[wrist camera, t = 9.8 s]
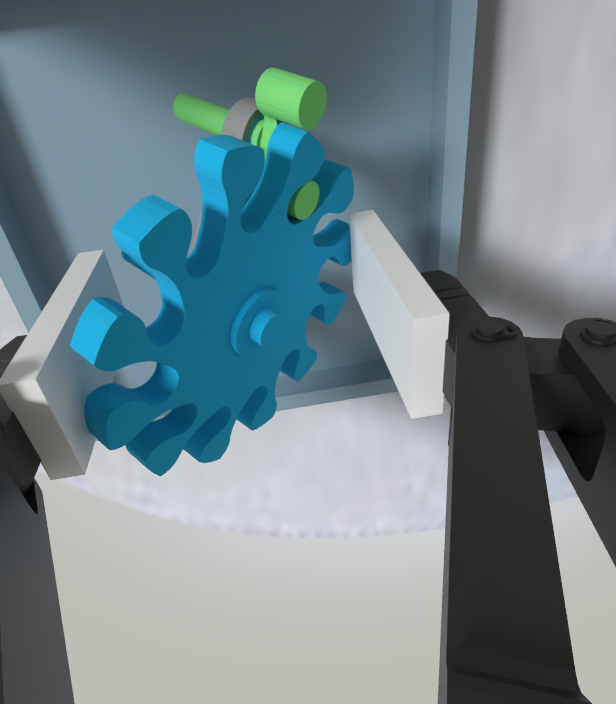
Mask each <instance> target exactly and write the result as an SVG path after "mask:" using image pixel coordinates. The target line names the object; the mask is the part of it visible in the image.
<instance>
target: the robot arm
mask: <svg viewBox="0 0 616 704" xmlns="http://www.w3.org/2000/svg"><path fill="white" fill-rule="evenodd" d="M349 222H350V239H351V257H352V274H353V291H354V294H355V296H356V298H357V300H358V302H359V305H360V307H361V309H362V311H363V313H364V316H365V318H366V320H367V322H368V325H369V327H370V329H371V331H372V333H373V336H374V338H375V340H376V342H377V344H378V347H379V349H380V351H381V353H382V356H383V358H384V360H385V362H386V364H387V367H388V369H389V371H390V373H391V375H392V378H393V380H394V382H395V384H396V386H397V389H398V391H399V393H400V395H401V398H402V400H403V402H404V404H405V406H406V409H407V411H408V413H409V415H410V417H411V419H414V418H420V417H426V416H432V415H438V414H443V402H444V395H445V397H446V399H447V401H448V402H449V404H450V406H451V415H450V427H449V440H448V446H449V455H448V479H447V502H446V526H445V549H444V550H445V551H444V572H443V573H444V574H443V596H442V598H443V599H442V620H441V643H440V667H439V691H438V704H592V703H591V702H590V701H589V700H588V699H587V698H586V697H585V696H584V695H583V694H582V693H581V691H580V688H579V685H578V683H577V677H576V672H575V666H574V659H573V653H572V646H571V640H570V634H569V627H568V621H567V614H566V608H565V601H564V596H563V589H562V582H561V576H560V569H559V563H558V556H557V550H556V544H555V537H554V531H553V524H552V518H551V511H550V505H549V498H548V492H547V486H546V479H545V473H544V466H543V460H542V453H541V447H540V440H539V434H538V430H544V433H545V434H546V436H547V438H548V440H549V442H550V444H551V446H552V448H553V449H554V451H555V453H556V455H557V457H558V459H559V461H560V463H561V465H562V466H563V468H564V470H565V472H566V474H567V476H568V478H569V480H570V482H571V483H572V485H573V487H574V489H575V491H576V493H577V495H578V497H579V499H580V500H581V502H582V504H583V506H584V508H585V510H586V512H587V513H588V515H589V517H590V519H591V521H592V523H593V525H594V527H595V529H596V531H597V532H598V534H599V536H600V538H601V540H602V541H603V544H604V546H605V548H606V549H607V551H608V553H609V555H610V557H611V559H612V561H613V563H614V564H615V566H616V323H615V322H613V321H611V320H607V319H605V320H603V319H601V318H584V319H579V320H574V321H572V322H570V323H568V324H567V325H566V326H565V328H564V330H563V335H562V339H551V338H530V337H523V333H522V331H521V330H520V328H519V327H518V326H517V325H515V324H514V323H512V322H510V321H507V320H505V319H502V318H496V317H489V316H488V315H487V314H486V312H485V311H484V310H483V309H482V308H481V307H480V305H479V304H478V303H477V302H476V301H475V300H474V298H473V297H472V296H470V294H469V293H468V292H467V290H466V289H465V288H463V286H462V285H461V283H460V282H459V281H458V280H457V279H456V278H455V277H454V276H452V275H450V274H448V273H446V272H444V271H442V270H436V271H429V272H423V273H419V272H418V270H417V269H416V267H415V266H414V265H413V263H412V262H411V261H410V259H409V258H408V257H407V255H406V254H405V253H404V251H403V250H402V249H401V247H400V246H399V244H398V243H397V242H396V240H395V239H394V238H393V236H392V235H391V234H390V232H389V231H388V230H387V228H386V227H385V226H384V224H383V223H382V222H381V220H380V219H379V217H378V216H377V215H376V213H375V212H374V211H373V210H369V211H362V212H356V213H349ZM98 297H106V298H111V299H112V300H114V301H116V302H117V303H119V304H120V305H122V306H123V307H124V305H123V302H122V300H121V297H120V294H119V291H118V288H117V285H116V283H115V280H114V277H113V274H112V271H111V269H110V266H109V263H108V260H107V257H106V255H105V252H104V250H97V251H90V252H84V253H78V255H77V256H76V258H75V260H74V261H73V263H72V264H71V266H70V268H69V269H68V271H67V272H66V274H65V276H64V277H63V279H62V280H61V282H60V284H59V285H58V287H57V288H56V290H55V292H54V293H53V295H52V296H51V298H50V300H49V301H48V303H47V304H46V306H45V308H44V309H43V311H42V312H41V314H40V316H39V317H38V319H37V320H36V322H35V324H34V325H33V327H32V328H31V330H30V332H29V333H28V335H24V336H17V337H15V338H14V339H13V340H12V341H10V342H9V343H8V344H6V345H5V346H4V347H3V348H1V349H0V704H74V697H73V691H72V684H71V678H70V671H69V664H68V658H67V651H66V645H65V638H64V632H63V625H62V619H61V612H60V606H59V600H58V593H57V587H56V580H55V573H54V566H53V560H52V554H51V547H50V540H49V534H48V527H47V521H46V514H45V507H44V501H43V494H42V491H41V489H40V487H39V485H38V483H37V482H36V480H35V479H34V477H35V474H36V472H37V469H38V467H39V465H40V462H41V464H42V466H43V467H44V469H45V471H46V473H47V474H48V476H49V478H50V479H51V480H54V479H60V478H66V477H72V476H78V475H84V474H85V472H86V469H87V466H88V462H89V459H90V456H91V453H92V450H93V446H94V443H95V440H96V437H94V436H93V435H92V434H91V433H90V432H89V430H88V427H87V424H86V421H85V413H84V411H85V402H86V397H87V395H88V394H89V393H91V392H92V391H93V390H95V389H96V388H98V387H100V386H102V385H105V384H109V383H113V382H114V379H115V375H116V372H117V370H115V371H111V372H108V371H102V370H99V369H97V368H96V367H95V366H94V365H92V364H91V363H90V362H89V361H87V360H86V359H85V358H84V357H82V356H81V355H80V354H79V353H77V352H76V351H75V350H74V349H72V348H71V347H70V343H71V340H72V337H73V334H74V331H75V328H76V326H77V324H78V321H79V319H80V317H81V315H82V313H83V312H84V310H85V308H86V307H87V305H88V304H89V303H90V302H91V300H92V299H94V298H98Z"/></svg>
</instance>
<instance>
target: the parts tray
mask: <svg viewBox="0 0 616 704" xmlns="http://www.w3.org/2000/svg"><path fill="white" fill-rule="evenodd" d="M477 7H478V0H0V276H1V278H2V280H3V282H4V284H5V286H6V288H7V290H8V292H9V294H10V296H11V298H12V300H13V302H14V304H15V306H16V308H17V310H18V313H19V315H20V317H21V319H22V321H23V323H24V325H25V327H26V329H27V331H28V333H29V332H30V330H31V328H32V327H33V325H34V324H35V322H36V320H37V319H38V317H39V316H40V314H41V312H42V311H43V309H44V308H45V306H46V304H47V303H48V301H49V300H50V298H51V296H52V295H53V293H54V292H55V290H56V288H57V287H58V285H59V284H60V282H61V280H62V279H63V277H64V276H65V274H66V272H67V271H68V269H69V268H70V266H71V264H72V263H73V261H74V260H75V258H76V256H77V255H78V253H84V252H90V251H97V250H104V252H105V255H106V257H107V260H108V263H109V266H110V269H111V271H112V274H113V277H114V280H115V283H116V285H117V288H118V291H119V294H120V297H121V300H122V302H123V305H124V308H126V309H127V310H129V311H130V312H132V313H133V314H135V315H136V316H138V317H139V318H140V319H141V320H142V321H143V322H144V325H145V327H147V326H149V325H150V324H151V323H152V322H153V321H154V320H155V319H156V318H157V316H158V315H159V313H160V310H161V307H162V299H161V295H160V291H159V287H158V284H157V281H156V279H154V278H152V277H151V276H149V275H148V274H146V273H144V272H143V271H141V270H140V269H138V268H136V267H135V266H133V265H132V264H130V263H128V262H127V261H125V260H124V259H123V257H122V254H121V249H120V248H119V247H118V246H117V244H116V243H115V240H114V237H113V233H112V226H113V225H114V224H115V223H116V222H117V221H118V220H119V219H120V218H121V217H122V216H123V215H124V214H125V213H126V212H127V211H128V210H129V209H130V208H131V207H132V206H133V205H135V204H136V203H137V202H139V201H140V200H142V199H143V198H145V197H148V196H150V195H152V194H154V195H156V196H158V197H160V198H162V199H164V200H166V201H168V202H169V203H171V204H173V205H175V206H177V207H179V208H181V209H182V210H184V211H185V212H186V213H187V214H188V216H189V218H190V220H191V223H192V238H191V243H190V247H189V251H188V255H187V257H188V256H189V255H190V253H191V249H192V245H193V241H194V237H195V233H196V229H197V225H198V221H199V218H200V214H201V210H202V192H201V187H200V182H199V179H198V177H197V174H196V171H195V166H194V154H195V150H196V146H197V144H198V142H199V139H202V138H206V137H209V136H214V134H211V133H209V132H207V131H204V130H202V129H199V128H197V127H194V126H192V125H190V124H187V123H185V122H182V121H180V120H178V119H177V118H176V117H175V115H174V111H173V104H174V101H175V99H176V97H177V96H178V95H179V94H181V93H187V94H190V95H192V96H195V97H198V98H200V99H203V100H206V101H208V102H211V103H214V104H216V105H219V106H222V107H224V108H227V109H230V108H231V107H232V106H233V105H234V104H235V103H236V102H237V101H238V100H240V99H242V98H246V97H250V98H254V99H255V92H256V87H257V83H258V81H259V78H260V76H261V75H262V73H263V72H264V71H265V70H267V69H268V68H272V67H274V68H278V69H281V70H284V71H287V72H291V73H294V74H297V75H300V76H303V77H307V78H310V79H313V80H316V81H319V82H321V83H323V85H324V86H325V89H326V94H327V103H326V108H325V112H324V115H323V117H322V119H321V121H320V122H319V124H318V125H317V126H316V127H315V128H314V129H312V130H305V129H302V128H299V127H297V126H294V125H291V124H289V123H288V124H289V125H290V126H293V127H296V128H299V129H301V130H304V131H307V132H309V133H310V134H311V135H313V136H314V137H315V138H316V139H317V140H318V141H319V142H320V143H321V145H322V147H323V149H324V152H325V157H324V160H327V159H328V160H331V161H333V162H336V163H338V164H341V165H344V166H346V167H349V168H351V170H352V176H353V183H354V194H353V200H352V202H351V204H350V205H349V206H348V208H347V209H346V210H345V211H343V212H342V213H340V214H334V213H327V214H325V215H324V216H323V217H322V218H321V219H320V220H319V222H318V224H317V226H316V228H315V231H314V235H315V234H316V233H318V232H320V231H321V230H322V229H324V228H325V227H326V226H327V225H328V224H329V223H330V222H331V221H332V220H334V219H339V220H342V221H344V222H346V223H348V224H350V222H349V213H356V212H362V211H369V210H373V211H374V212H375V213H376V215H377V216H378V217H379V219H380V220H381V222H382V223H383V224H384V226H385V227H386V228H387V230H388V231H389V232H390V234H391V235H392V236H393V238H394V239H395V240H396V242H397V243H398V244H399V246H400V247H401V249H402V250H403V251H404V253H405V254H406V255H407V257H408V258H409V259H410V261H411V262H412V263H413V265H414V266H415V267H416V269H417V270H418V272H419V273H423V272H429V271H436V270H442V271H444V272H446V273H448V274H450V275H452V276H454V277H455V278H456V279H457V274H458V261H459V248H460V234H461V221H462V207H463V194H464V181H465V167H466V154H467V141H468V127H469V114H470V100H471V87H472V74H473V60H474V47H475V33H476V20H477ZM321 282H327V283H329V284H331V285H332V286H334V287H336V288H338V289H340V290H342V291H344V292H345V293H346V295H347V297H346V299H345V302H344V304H343V306H342V308H341V310H340V312H339V314H338V315H337V317H336V319H335V320H334V322H333V323H332V324H330V325H327V324H325V323H323V322H322V321H320V320H318V319H316V318H314V317H313V316H311V315H309V317H308V319H307V323H306V341H307V345H308V346H309V347H310V348H312V349H314V350H315V351H316V352H317V359H316V362H315V363H314V364H313V366H312V367H311V368H310V370H309V371H308V372H307V373H306V374H305V375H304V377H303V378H302V379H301V380H299V381H298V382H296V381H294V380H293V379H291V378H290V377H288V376H287V375H285V374H284V373H282V372H279V375H278V378H277V382H276V386H275V399H276V402H277V408H276V411H280V410H286V409H292V408H299V407H305V406H311V405H317V404H323V403H329V402H335V401H341V400H347V399H353V398H359V397H365V396H371V395H378V394H384V393H390V392H396V391H398V389H397V386H396V384H395V382H394V380H393V378H392V375H391V373H390V371H389V369H388V367H387V364H386V362H385V360H384V358H383V356H382V353H381V351H380V349H379V347H378V344H377V342H376V340H375V338H374V336H373V333H372V331H371V329H370V327H369V325H368V322H367V320H366V318H365V316H364V313H363V311H362V309H361V307H360V305H359V302H358V300H357V298H356V296H355V294H354V291H353V274H352V261H351V262H350V263H349V264H348V265H346V266H342V265H339V264H337V263H335V262H333V261H331V260H329V259H328V260H327V261H326V262H325V263H324V264H323V266H322V268H321V270H320V273H319V277H318V283H321ZM156 366H157V362H151V361H147V362H139V363H135V364H131V365H128V366H126V367H123V368H121V369H119V370H117V372H116V375H115V379H114V382H113V383H114V384H119V385H121V386H124V387H126V388H130V389H132V388H137V387H140V386H141V385H143V384H145V383H146V382H147V381H148V380H149V379H150V378H151V376H152V375H153V373H154V371H155V369H156ZM171 410H172V409H171ZM171 410H169V411H167V412H165V413H163V414H162V415H160V416H159V417H157V418H156V419H154V420H153V421H156V420H159V419H161V418H163V417H164V416H166V415H167V414H168V413H169V412H170V411H171ZM153 421H151V422H153ZM95 441H98V439H97V438H96V440H95Z"/></svg>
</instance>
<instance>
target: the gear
mask: <svg viewBox="0 0 616 704" xmlns="http://www.w3.org/2000/svg"><path fill="white" fill-rule="evenodd" d="M326 103H327V94H326V89H325V86H324V85H323V83H321V82H319V81H316V80H313V79H310V78H307V77H303V76H300V75H297V74H294V73H291V72H287V71H284V70H281V69H278V68H274V67H272V68H268V69H267V70H265V71H264V72H263V73H262V75H261V76H260V78H259V81H258V83H257V87H256V92H255V99H254V98H250V97H246V98H242V99H240V100H238V101H237V102H236V103H235V104H234V105H233V106H232V107H231V108H230V109H227V108H224V107H222V106H219V105H216V104H214V103H211V102H208V101H206V100H203V99H200V98H198V97H195V96H192V95H190V94H187V93H181V94H179V95H178V96H177V97H176V99H175V101H174V104H173V111H174V115H175V117H176V118H177V119H178V120H180V121H182V122H185V123H187V124H190V125H192V126H194V127H197V128H199V129H202V130H204V131H207V132H209V133H211V134H214V136H209V137H206V138H202V139H199V142H198V144H197V146H196V150H195V154H194V166H195V171H196V174H197V177H198V179H199V182H200V187H201V192H202V210H201V214H200V218H199V221H198V225H197V229H196V233H195V237H194V241H193V245H192V249H191V253H190V255H189V256H188V257H187V255H188V251H189V247H190V243H191V238H192V223H191V220H190V218H189V216H188V214H187V213H186V212H185V211H184V210H182V209H181V208H179V207H177V206H175V205H173V204H171V203H169V202H168V201H166V200H164V199H162V198H160V197H158V196H156V195H154V194H152V195H150V196H148V197H145V198H143V199H142V200H140V201H139V202H137V203H136V204H135V205H133V206H132V207H131V208H130V209H129V210H128V211H127V212H126V213H125V214H124V215H123V216H122V217H121V218H120V219H119V220H118V221H117V222H116V223H115V224H114V225H113V226H112V233H113V237H114V240H115V243H116V244H117V246H118V247H119V248H120V249H121V254H122V257H123V259H124V260H125V261H127V262H128V263H130V264H132V265H133V266H135V267H136V268H138V269H140V270H141V271H143V272H144V273H146V274H148V275H149V276H151V277H152V278H154V279H156V281H157V284H158V287H159V291H160V295H161V299H162V307H161V310H160V313H159V315H158V316H157V318H156V319H155V320H154V321H153V322H152V323H151V324H150V325H149V326H147V327H145V325H144V322H143V321H142V320H141V319H140V318H139V317H138V316H136V315H135V314H133V313H132V312H130V311H129V310H127V309H126V308H124V307H123V306H122V305H120V304H119V303H117V302H116V301H114V300H112V299H111V298H106V297H98V298H94V299H92V300H91V302H90V303H89V304H88V305H87V307H86V308H85V310H84V312H83V313H82V315H81V317H80V319H79V321H78V324H77V326H76V328H75V331H74V334H73V337H72V340H71V343H70V347H71V348H72V349H74V350H75V351H76V352H77V353H79V354H80V355H81V356H82V357H84V358H85V359H86V360H87V361H89V362H90V363H91V364H92V365H94V366H95V367H96V368H97V369H99V370H102V371H108V372H111V371H115V370H119V369H121V368H123V367H126V366H128V365H131V364H135V363H139V362H147V361H151V362H157V366H156V369H155V371H154V373H153V375H152V376H151V378H150V379H149V380H148V381H147V382H146V383H145V384H143V385H141V386H140V387H137V388H132V389H130V388H126V387H124V386H121V385H119V384H114V383H109V384H105V385H102V386H100V387H98V388H96V389H95V390H93V391H92V392H91V393H89V394H88V395H87V397H86V402H85V411H84V413H85V421H86V424H87V427H88V430H89V432H90V433H91V434H92V435H93V436H94V437H96V438H97V439H98V440H99V441H100V442H101V443H102V444H103V445H104V446H106V447H107V448H108V449H109V450H114V449H117V448H120V447H122V446H124V445H126V448H127V450H128V451H129V452H130V454H132V455H133V456H134V457H135V458H136V459H137V460H138V461H140V462H141V463H142V464H143V465H144V466H145V467H146V468H148V469H149V470H150V471H151V472H153V473H154V474H157V475H159V476H162V475H163V474H165V473H166V472H167V471H168V470H169V469H170V468H171V467H172V466H173V465H174V464H175V462H176V461H177V459H178V457H179V455H180V454H181V452H182V450H183V449H184V450H185V451H186V452H188V453H189V454H190V455H191V456H193V457H194V458H195V459H196V460H198V461H199V462H202V463H208V462H212V461H215V460H218V459H220V458H221V457H222V455H223V454H224V453H225V451H226V449H227V447H228V445H229V442H230V435H231V432H232V428H233V426H234V424H235V421H236V419H237V420H238V421H240V422H241V423H243V424H244V425H245V426H247V427H248V428H249V429H251V430H255V429H257V428H259V427H260V426H262V425H263V424H265V423H266V422H267V421H268V420H270V419H271V418H272V417H273V416H274V414H275V411H276V408H277V402H276V399H275V386H276V382H277V378H278V375H279V372H282V373H284V374H285V375H287V376H288V377H290V378H291V379H293V380H294V381H296V382H298V381H299V380H301V379H302V378H303V377H304V375H305V374H306V373H307V372H308V371H309V370H310V368H311V367H312V366H313V364H314V363H315V362H316V359H317V352H316V351H315V350H314V349H312V348H310V347H309V346H308V345H307V341H306V323H307V319H308V317H309V315H311V316H313V317H314V318H316V319H318V320H320V321H322V322H323V323H325V324H327V325H330V324H332V323H333V322H334V320H335V319H336V317H337V315H338V314H339V312H340V310H341V308H342V306H343V304H344V302H345V299H346V297H347V295H346V293H345V292H344V291H342V290H340V289H338V288H336V287H334V286H332V285H331V284H329V283H327V282H321V283H318V277H319V273H320V270H321V268H322V266H323V264H324V263H325V262H326V261H327V260H328V259H329V260H331V261H333V262H335V263H337V264H339V265H342V266H346V265H348V264H349V263H350V262H351V261H352V257H351V239H350V224H348V223H346V222H344V221H342V220H339V219H334V220H332V221H331V222H330V223H329V224H328V225H327V226H326V227H325V228H324V229H322V230H321V231H320V232H318V233H316V234H315V235H314V231H315V228H316V226H317V224H318V222H319V220H320V219H321V218H322V217H323V216H324V215H325V214H327V213H334V214H340V213H342V212H343V211H345V210H346V209H347V208H348V206H349V205H350V204H351V202H352V200H353V194H354V183H353V176H352V170H351V168H349V167H346V166H344V165H341V164H338V163H336V162H333V161H331V160H328V159H327V160H324V157H325V152H324V149H323V147H322V145H321V143H320V142H319V141H318V140H317V139H316V138H315V137H314V136H313V135H311V134H310V133H309V132H307V131H304V130H301V129H299V128H302V129H305V130H312V129H314V128H315V127H316V126H317V125H318V124H319V122H320V121H321V119H322V117H323V115H324V112H325V108H326ZM288 123H289V124H291V125H294V126H297V127H299V128H296V127H293V126H290V125H289V124H288ZM171 409H172V410H171ZM169 410H171V411H170V412H169V413H168V414H167V415H166V416H164V417H163V418H161V419H159V420H156V421H153V420H154V419H156V418H157V417H159V416H160V415H162V414H163V413H165V412H167V411H169ZM151 421H153V422H151Z"/></svg>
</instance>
